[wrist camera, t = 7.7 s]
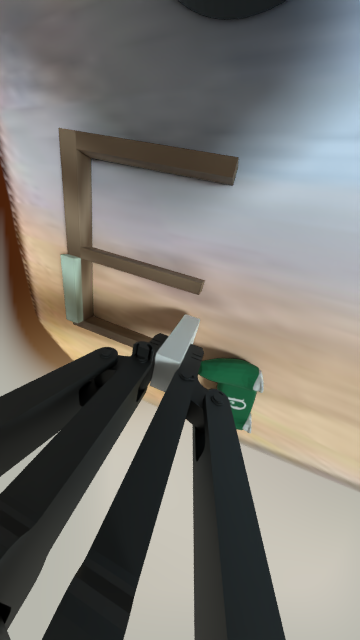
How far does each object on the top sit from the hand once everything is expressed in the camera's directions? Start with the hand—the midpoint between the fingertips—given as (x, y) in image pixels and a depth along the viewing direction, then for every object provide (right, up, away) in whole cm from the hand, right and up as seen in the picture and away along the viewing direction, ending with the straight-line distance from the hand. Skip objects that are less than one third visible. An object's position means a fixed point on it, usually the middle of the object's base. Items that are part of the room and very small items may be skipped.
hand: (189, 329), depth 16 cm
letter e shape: (-4, +6, 0) cm, 7 cm away
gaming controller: (+1, -7, +2) cm, 7 cm away
